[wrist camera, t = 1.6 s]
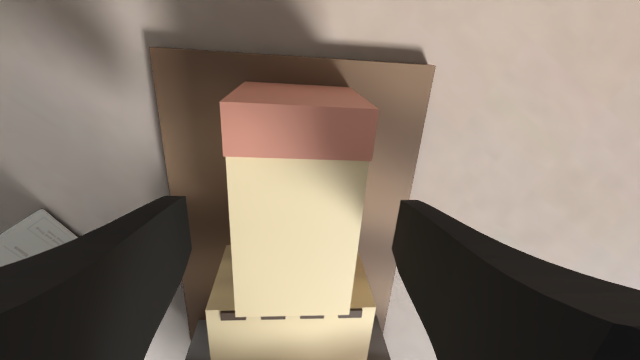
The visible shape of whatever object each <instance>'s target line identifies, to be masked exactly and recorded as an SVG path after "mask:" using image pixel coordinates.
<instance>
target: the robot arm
mask: <svg viewBox="0 0 640 360" xmlns="http://www.w3.org/2000/svg"><path fill="white" fill-rule="evenodd" d="M191 250H192V244H191V236H190V228H189V220H188V212H187V204H186V196H164V197H161V198H159V199H156V200H154V201H152V202H150V203H148V204H146V205H144V206H142V207H140V208H138V209H136V210H134V211H132V212H130V213H128V214H126V215H124V216H122V217H120V218H118V219H116V220H115V221H113V222H110V223H108V224H106V225H104V226H102V227H100V228H98V229H95V230H93V231H91V232H89V233H87V234H85V235H83V236H80V237H78V238H76V239H74V240H71V241H69V242H67V243H64V244H62V245H59V246H57V247H55V248H52V249H49V250H47V251H44V252H41V253H39V254H36V255H34V256H31V257H28V258H25V259H23V260H20V261H17V262H14V263H11V264H7V265H4V266H1V267H0V360H144V358H145V355H146V353H147V351H148V348H149V346H150V344H151V341H152V339H153V337H154V335H155V333H156V331H157V329H158V327H159V325H160V323H161V321H162V319H163V317H164V315H165V313H166V311H167V309H168V307H169V304H170V302H171V300H172V298H173V296H174V294H175V292H176V290H177V288H178V286H179V284H180V282H181V280H182V277H183V275H184V273H185V270H186V267H187V264H188V260H189V257H190V254H191ZM392 252H393V256H394V259H395V262H396V266H397V269H398V272H399V274H400V277H401V279H402V281H403V283H404V285H405V287H406V290H407V292H408V294H409V296H410V298H411V300H412V302H413V304H414V306H415V308H416V311H417V313H418V315H419V317H420V319H421V321H422V323H423V325H424V327H425V329H426V332H427V334H428V336H429V339H430V341H431V343H432V346H433V349H434V351H435V354H436V357H437V360H640V290H637V289H633V288H630V287H626V286H622V285H619V284H615V283H611V282H608V281H604V280H601V279H598V278H594V277H591V276H588V275H585V274H581V273H578V272H575V271H573V270H570V269H567V268H564V267H561V266H558V265H555V264H552V263H549V262H547V261H544V260H541V259H539V258H536V257H534V256H531V255H529V254H526V253H524V252H521V251H519V250H517V249H514V248H512V247H510V246H507V245H505V244H503V243H501V242H499V241H497V240H495V239H493V238H490V237H488V236H486V235H484V234H482V233H480V232H478V231H476V230H474V229H473V228H471V227H469V226H467V225H465V224H463V223H461V222H459V221H458V220H456V219H454V218H452V217H450V216H449V215H447V214H445V213H443V212H441V211H439V210H438V209H436V208H434V207H432V206H430V205H428V204H426V203H424V202H421V201H419V200H401V201H400V206H399V212H398V217H397V222H396V228H395V233H394V238H393V244H392Z"/></svg>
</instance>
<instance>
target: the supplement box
mask: <svg viewBox="0 0 640 360" xmlns="http://www.w3.org/2000/svg"><path fill="white" fill-rule="evenodd" d="M76 238H78V237H77V236H75V235H74V234H73V233H72V232H71V231H69V230H68V229H67V228H66V227H65V226H63V225H62V224H61V223H60V222H58V221H57V220H56V219H55V218H53V217H52V216H51V215H50V214H49V213H48V212H46V211H45V210H44V209H40V210H38V211H37V212H35V213H33V214H32V215H30V216H28V217H27V218H25V219H24V220H22V221H20V222H19V223H17V224H16V225H14V226H13V227H11V228H10V229H8V230H7V231H5V232H3V233H2V234H0V267H1V266H4V265H7V264H11V263H14V262H17V261H20V260H23V259H25V258H28V257H31V256H34V255H36V254H39V253H41V252H44V251H47V250H49V249H52V248H55V247H57V246H59V245H62V244H64V243H67V242H69V241H71V240H74V239H76Z"/></svg>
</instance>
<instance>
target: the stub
mask: <svg viewBox="0 0 640 360" xmlns="http://www.w3.org/2000/svg"><path fill="white" fill-rule="evenodd" d="M378 114H379V109H378V108H377V107H375V106H374V105H373V104H371V103H370V102H369V101H367V100H366V99H365V98H363V97H362V96H361V95H359V94H358V93H357V92H355V91H354V90H353V89H351V88H350V87H338V86H320V85H301V84H283V83H265V82H247V81H245V82H244V83H242V84H241V85H240V86H239V87H237V88H236V89H235V90H234V91H232V92H231V93H230V94H228V95H227V96H226V97H225V98H223V99H222V100H221V101H220V117H221V132H222V148H223V157H226V172H227V189H228V205H229V221H230V237H231V254H232V270H233V286H234V302H235V317H267V316H317V315H349V312H350V304H351V297H352V289H353V282H354V274H355V267H356V259H357V252H358V244H359V237H360V229H361V222H362V214H363V207H364V199H365V192H366V184H367V177H368V169H369V162H370V161H372V158H373V151H374V143H375V136H376V129H377V121H378Z"/></svg>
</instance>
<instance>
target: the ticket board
mask: <svg viewBox="0 0 640 360" xmlns="http://www.w3.org/2000/svg"><path fill="white" fill-rule="evenodd" d="M149 51H150V58H151V65H152V72H153V79H154V86H155V93H156V100H157V107H158V114H159V121H160V128H161V135H162V142H163V149H164V156H165V163H166V170H167V177H168V184H169V191H170V196H186V204H187V212H188V220H189V228H190V236H191V244H192V250H191V254H190V257H189V260H188V264H187V267H186V270H185V273H184V275H183V277H182V281H183V288H184V295H185V302H186V309H187V316H188V323H189V330H190V337H191V344H190V347H189V350H188V353H187V356H186V359H185V360H391V359H390V356H389V353H388V350H387V347H386V343H385V340H384V337H383V330H384V325H385V320H386V315H387V310H388V305H389V300H390V295H391V290H392V285H393V279H394V274H395V269H396V262H395V259H394V256H393V252H392V244H393V238H394V233H395V228H396V222H397V217H398V212H399V206H400V201H401V200H409V198H410V193H411V188H412V183H413V178H414V173H415V168H416V163H417V158H418V153H419V148H420V143H421V138H422V133H423V128H424V122H425V117H426V112H427V107H428V102H429V97H430V92H431V87H432V82H433V77H434V72H435V67H436V66H434V65H426V64H410V63H395V62H379V61H364V60H348V59H333V58H317V57H301V56H286V55H270V54H255V53H239V52H224V51H208V50H192V49H177V48H161V47H149ZM245 81H247V82H265V83H283V84H301V85H320V86H338V87H350V88H351V89H353V90H354V91H355V92H357V93H358V94H359V95H361V96H362V97H363V98H365V99H366V100H367V101H369V102H370V103H371V104H373V105H374V106H375V107H377V108H378V109H379V114H378V121H377V129H376V136H375V143H374V151H373V158H372V161H370V162H369V169H368V177H367V184H366V192H365V199H364V207H363V214H362V222H361V229H360V237H359V244H358V252H357V259H356V267H355V274H354V282H353V289H352V297H351V304H350V312H349V315H317V316H267V317H235V302H234V286H233V270H232V254H231V237H230V221H229V205H228V189H227V172H226V157H223V148H222V132H221V117H220V101H221V100H222V99H223V98H225V97H226V96H227V95H228V94H230V93H231V92H232V91H234V90H235V89H236V88H237V87H239V86H240V85H241V84H242V83H244V82H245Z"/></svg>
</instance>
